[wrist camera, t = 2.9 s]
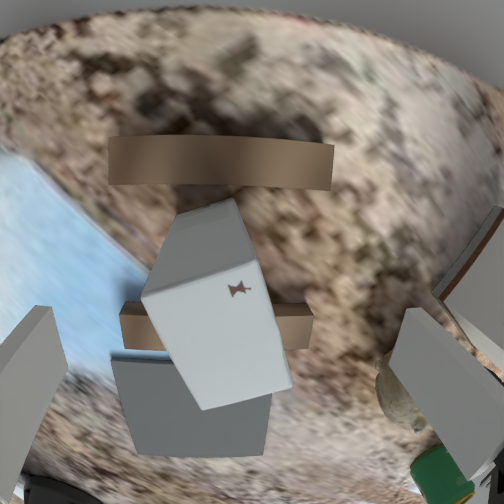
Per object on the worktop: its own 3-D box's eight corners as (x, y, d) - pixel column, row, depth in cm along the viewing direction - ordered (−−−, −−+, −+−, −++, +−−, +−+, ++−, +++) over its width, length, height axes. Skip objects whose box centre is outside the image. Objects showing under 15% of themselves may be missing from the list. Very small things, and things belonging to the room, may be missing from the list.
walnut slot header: (129, 334, 23) (124, 348, 22) (118, 137, 19) (109, 136, 17) (301, 334, 25) (308, 348, 23) (323, 145, 21) (334, 145, 19)
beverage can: (400, 469, 38) (428, 521, 27) (438, 439, 37) (472, 489, 25) (418, 473, 40) (444, 518, 29) (452, 446, 39) (482, 489, 28)
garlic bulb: (444, 343, 29) (498, 397, 19) (390, 397, 30) (430, 460, 21) (408, 300, 26) (475, 361, 16) (343, 365, 27) (387, 444, 18)
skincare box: (173, 214, 21) (134, 292, 10) (233, 195, 21) (260, 252, 10) (202, 292, 23) (199, 414, 12) (257, 275, 23) (299, 388, 12)
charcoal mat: (138, 450, 28) (137, 454, 28) (112, 357, 24) (110, 360, 23) (262, 452, 30) (262, 455, 30) (275, 359, 26) (276, 363, 25)
